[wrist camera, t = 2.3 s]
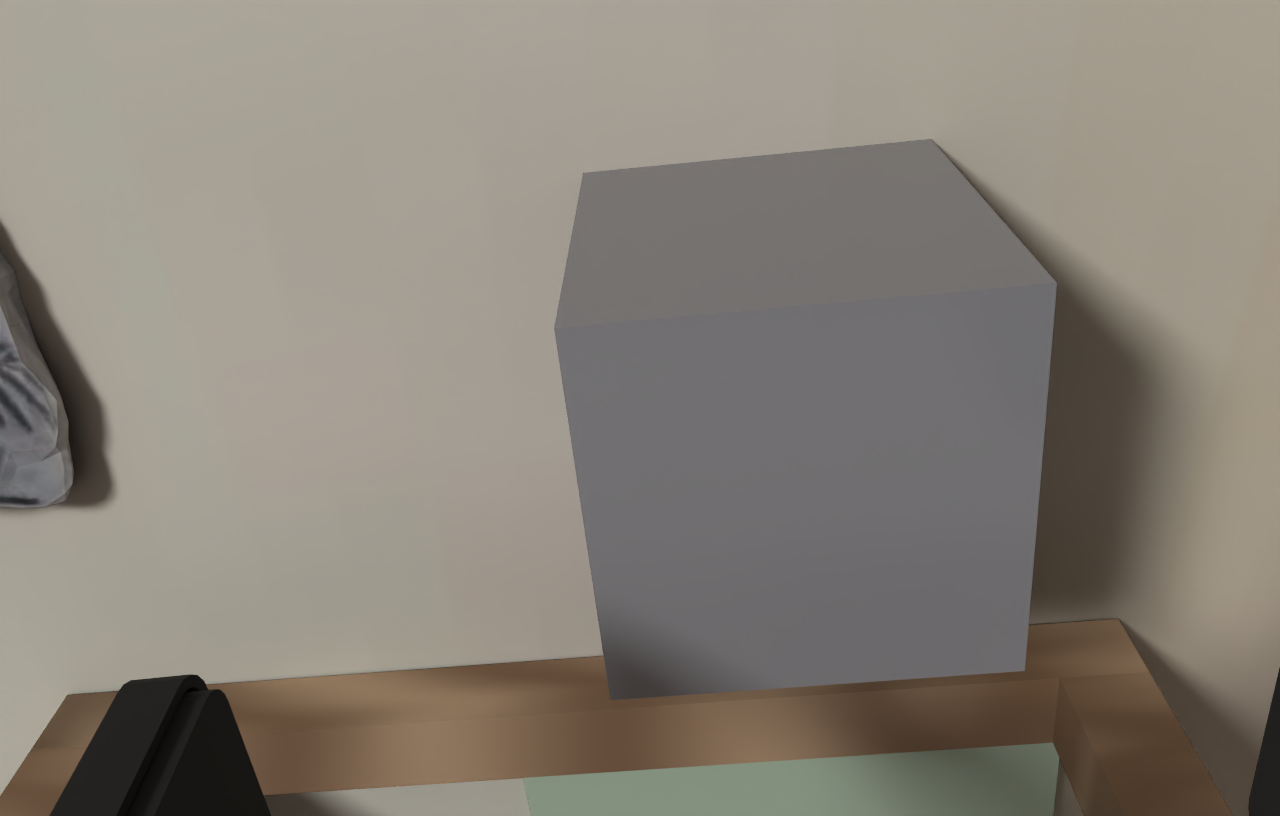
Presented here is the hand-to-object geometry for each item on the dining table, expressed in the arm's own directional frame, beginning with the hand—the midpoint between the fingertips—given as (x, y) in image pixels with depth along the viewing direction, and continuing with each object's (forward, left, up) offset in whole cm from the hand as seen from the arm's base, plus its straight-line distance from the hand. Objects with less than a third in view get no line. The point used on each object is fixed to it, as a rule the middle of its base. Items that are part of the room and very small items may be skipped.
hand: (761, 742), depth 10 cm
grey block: (-1, 0, -10) cm, 10 cm away
